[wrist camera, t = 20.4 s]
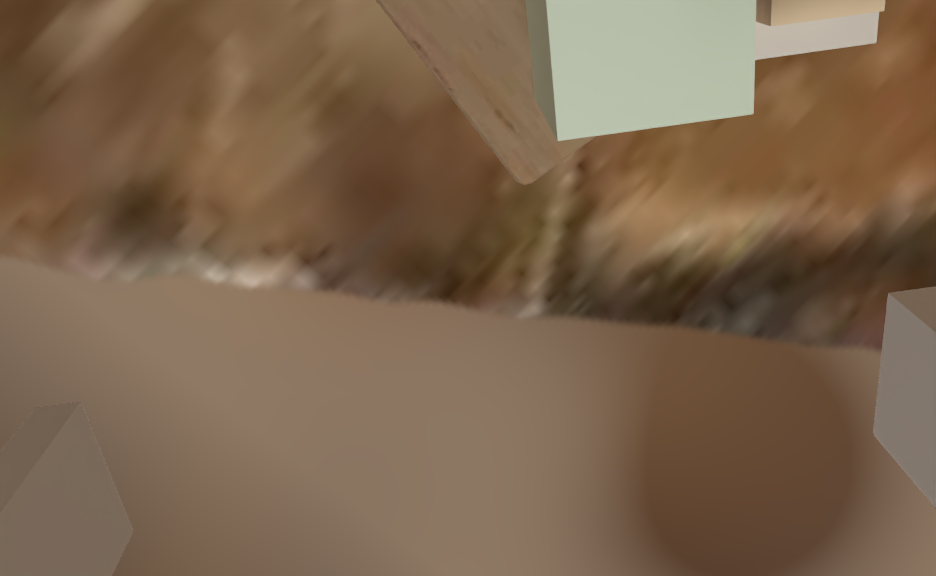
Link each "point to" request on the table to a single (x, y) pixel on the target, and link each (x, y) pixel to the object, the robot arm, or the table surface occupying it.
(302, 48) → the table surface
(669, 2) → the sage cube
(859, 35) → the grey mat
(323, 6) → the table surface
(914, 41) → the table surface
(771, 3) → the maple cube
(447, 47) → the wooden block
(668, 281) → the table surface
